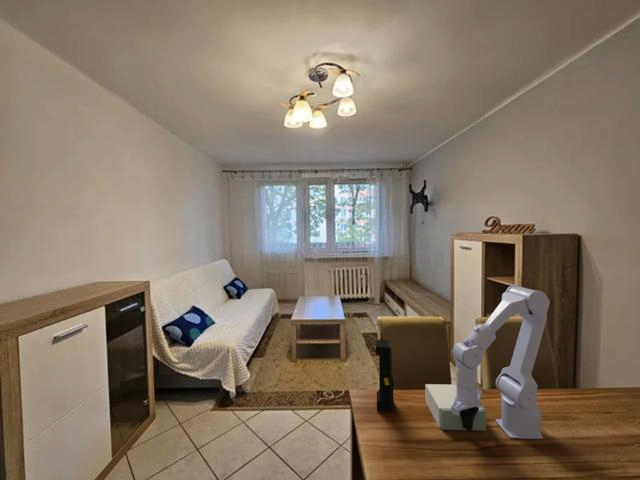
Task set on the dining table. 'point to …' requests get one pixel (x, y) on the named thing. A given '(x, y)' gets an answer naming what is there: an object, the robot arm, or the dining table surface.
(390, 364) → the portable radio
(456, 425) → the grey green drawer
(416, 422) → the dining table surface
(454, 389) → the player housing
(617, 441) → the dining table surface
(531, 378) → the robot arm
